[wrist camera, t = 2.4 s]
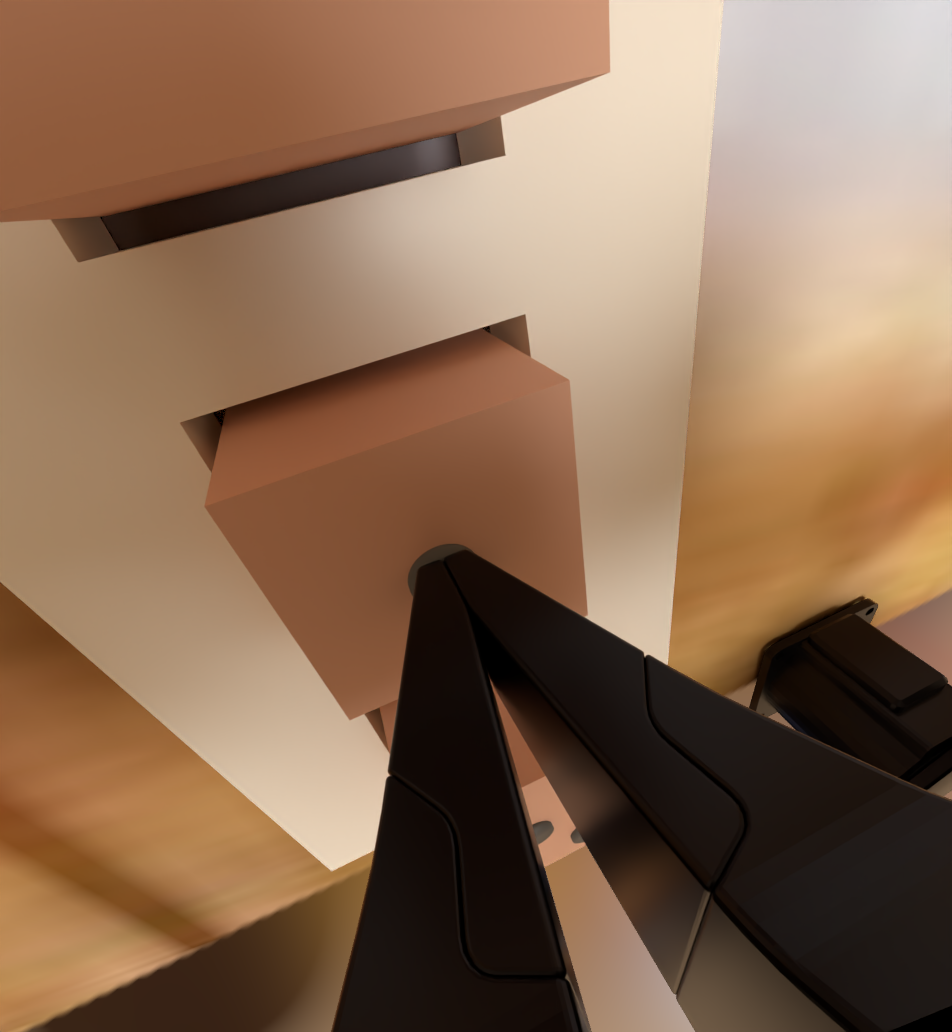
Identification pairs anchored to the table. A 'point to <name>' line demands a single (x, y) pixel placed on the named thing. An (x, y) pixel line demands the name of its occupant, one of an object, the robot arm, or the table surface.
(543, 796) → the tile three dots
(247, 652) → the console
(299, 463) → the tile one dot
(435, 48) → the tile two dots
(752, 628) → the table surface
